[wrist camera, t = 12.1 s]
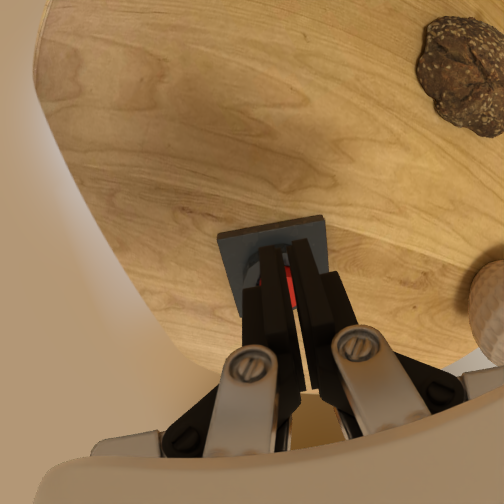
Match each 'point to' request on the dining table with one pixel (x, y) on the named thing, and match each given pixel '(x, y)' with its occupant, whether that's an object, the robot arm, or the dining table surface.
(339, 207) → the dining table surface
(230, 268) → the grey button base
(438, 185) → the dining table surface
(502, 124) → the bread roll
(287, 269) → the red push button
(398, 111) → the dining table surface
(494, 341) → the vase
